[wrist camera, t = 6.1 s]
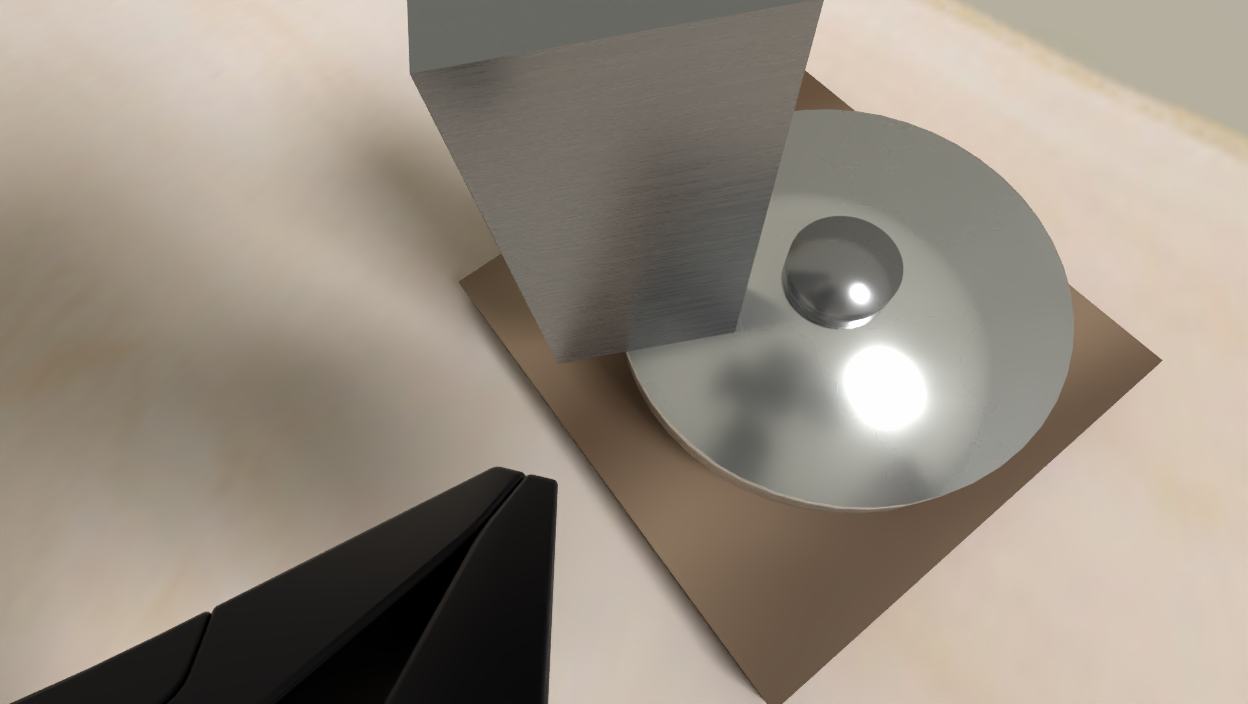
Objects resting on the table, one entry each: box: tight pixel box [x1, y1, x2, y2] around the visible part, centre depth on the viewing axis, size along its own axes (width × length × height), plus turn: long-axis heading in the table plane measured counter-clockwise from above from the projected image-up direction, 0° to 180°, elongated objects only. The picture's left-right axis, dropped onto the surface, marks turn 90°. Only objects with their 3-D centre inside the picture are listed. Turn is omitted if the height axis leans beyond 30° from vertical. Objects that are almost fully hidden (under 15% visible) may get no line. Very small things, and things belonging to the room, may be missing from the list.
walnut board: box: [459, 71, 1163, 704], centre depth 14 cm, size 13×13×5 cm
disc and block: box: [407, 0, 1074, 514], centre depth 10 cm, size 12×10×9 cm
